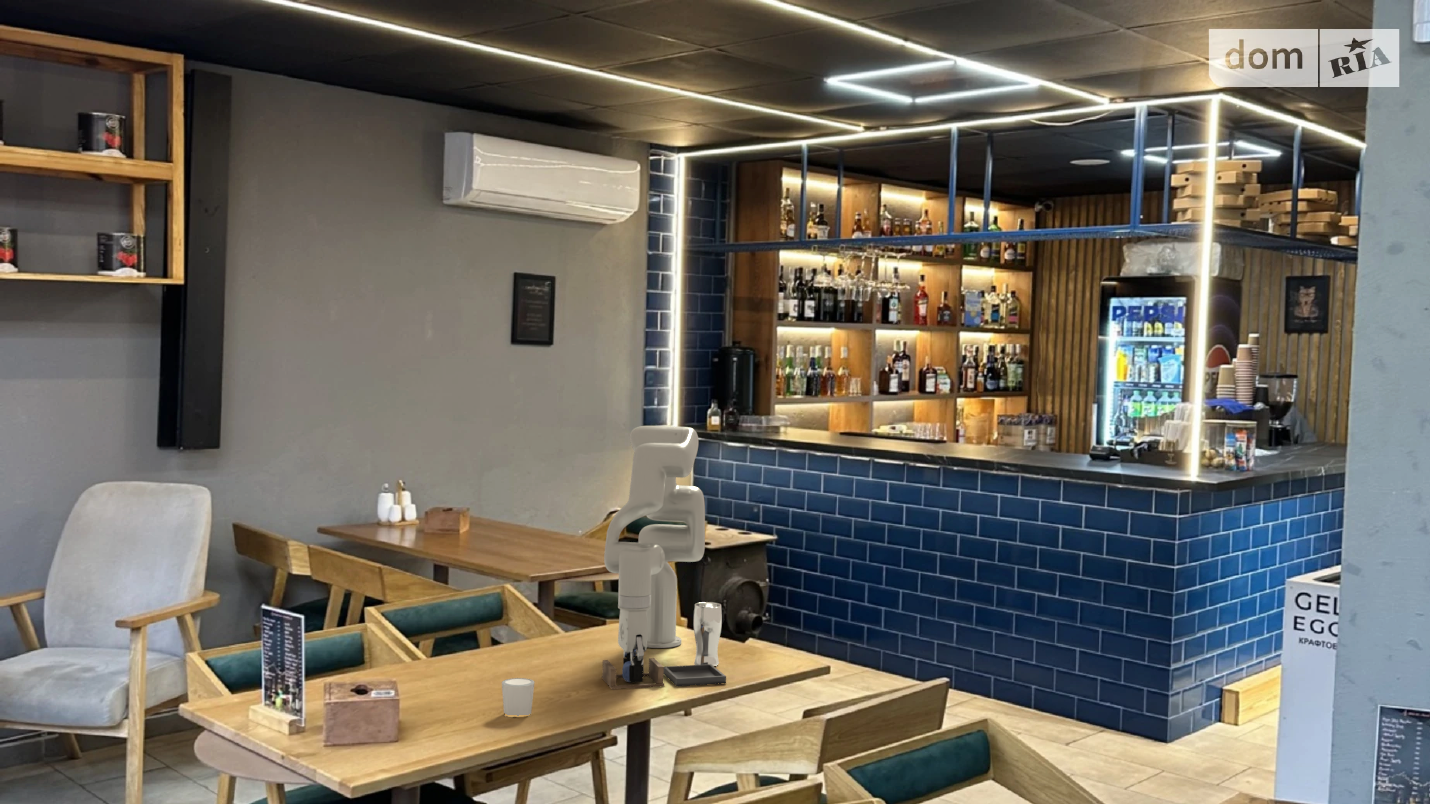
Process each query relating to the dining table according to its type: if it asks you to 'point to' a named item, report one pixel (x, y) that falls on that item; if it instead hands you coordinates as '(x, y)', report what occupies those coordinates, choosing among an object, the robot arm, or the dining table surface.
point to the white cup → (517, 696)
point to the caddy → (654, 674)
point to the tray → (694, 675)
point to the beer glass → (707, 632)
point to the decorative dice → (627, 671)
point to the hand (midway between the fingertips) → (633, 677)
